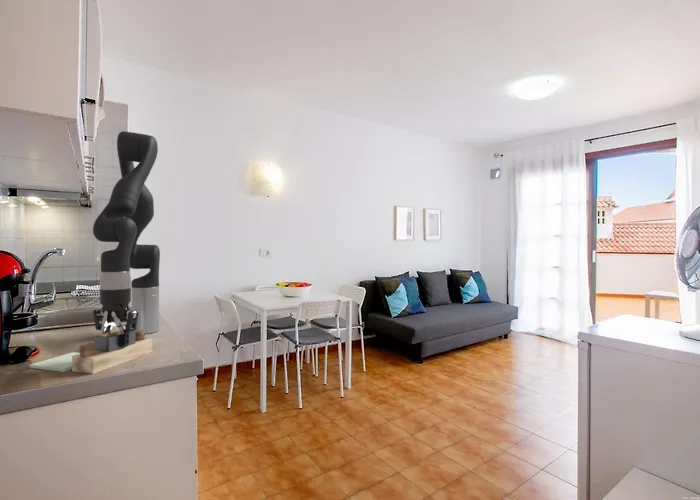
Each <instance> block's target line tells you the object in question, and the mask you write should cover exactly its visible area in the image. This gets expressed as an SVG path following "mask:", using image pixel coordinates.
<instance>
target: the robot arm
mask: <svg viewBox="0 0 700 500" xmlns="http://www.w3.org/2000/svg"><path fill="white" fill-rule="evenodd" d="M116 139H117V140H116V147H117V148H116V150H117V157H118V162H119V168H120V169H119V170H120V173H121V174H120V175H121V178H120V179H119V180H117V182H116V183H115V185H114V186H113V189H112V192H111V194H110V197H109V201H108V203H107V204H106V206H105V207H104V208H103V209H102V211H101V212H100V213H99V214H98V216H97V218H96V219H95V221H94V223H93V227H92V233H93V236H94V238H95V239H96V240H97V241H98V242H102V243H118V245H117V246H116V247H115V249H110V250H105V251H103V252H102V253H101V255H100V277H99V304H100V305H102V307H101V308H96V309H93V311H92V312H93V313H92V315H93V320H94V325H95V330H96V331H100V332H101V334H102V333H106V332H110V331H111V329H112V326H113V324H114V323H116V326H117V327H118V328H119V331H120V333H121V334H120V347H126V346H128V344H129V333H130V332H132V331H135V330H136V331H145V335H147V334H152V333H156V332H159V331H160V261H161V260H160V259H161V250H160V247H159V246H158V245H157V244H138V240H139V238H140V236H141V235H142V232H144V230H145V229H146V228H147V227H148V225H149V224H150V222H152V220H153V218H154V214H155V208H154V206H155V205H154V197H153V194H152V192H151V191H150V190H149V188H148V187H147V186H146V185H145V183H146V181H147V180H148V177H149V175H150V174H151V171H152V168H153V167H154V165H155V162H156V159H157V157H158V150H159V147H158V142H157V139H156V137H154V136H153V135H149V134H144V133H138V132H132V131H125V130H122V131H120V132H119V133H118V135H117V138H116ZM134 162H135V163H138V164H137V165H136V166H135V164H134ZM131 269H133V270H147V269H149V271H148V273H145V274H144V275H142V276H139V277H136V278H134V279H132V276H131ZM130 302H131V306H129V304H130ZM121 322H124V323H121ZM123 326H124V327H125V329H124V327H123Z"/></svg>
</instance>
